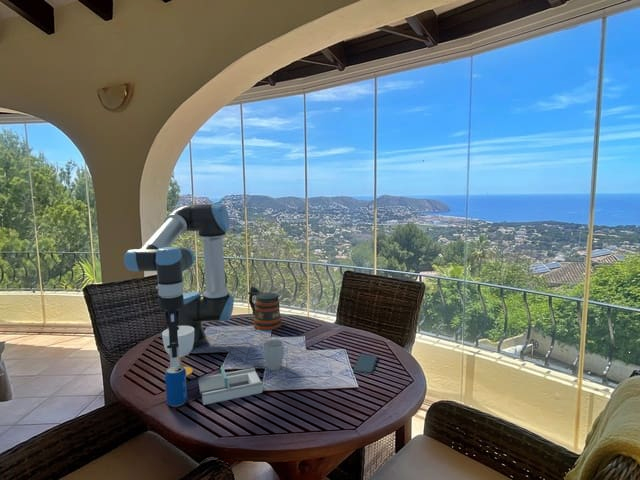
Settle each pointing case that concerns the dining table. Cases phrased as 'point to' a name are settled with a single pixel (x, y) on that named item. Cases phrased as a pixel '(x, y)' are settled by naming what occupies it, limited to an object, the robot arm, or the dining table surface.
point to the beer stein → (265, 309)
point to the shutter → (213, 382)
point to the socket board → (235, 386)
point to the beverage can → (176, 386)
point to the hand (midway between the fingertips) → (174, 357)
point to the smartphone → (365, 363)
